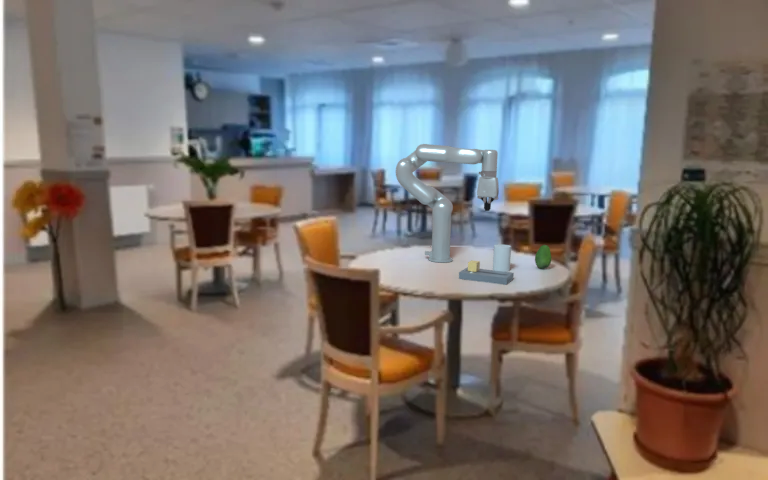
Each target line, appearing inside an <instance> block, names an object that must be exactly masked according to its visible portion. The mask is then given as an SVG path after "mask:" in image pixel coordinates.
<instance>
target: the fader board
mask: <svg viewBox="0 0 768 480" xmlns="http://www.w3.org/2000/svg"><path fill="white" fill-rule="evenodd" d="M458 279H459V280H464V281H465V280H466V281H474V282H481V283H488V284H489V283H491V284H498V285H505V286H507V285H508V284H509V283H510V282H512V281H513V280H514V272H510V271H508V272H503V271H494V270H493V269H486V268H485V269H483V268H480V270H478V271H477V272H473V271H468V266H467V267H466V268H464V269H462V270H461V271H459V272H458Z"/></svg>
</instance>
